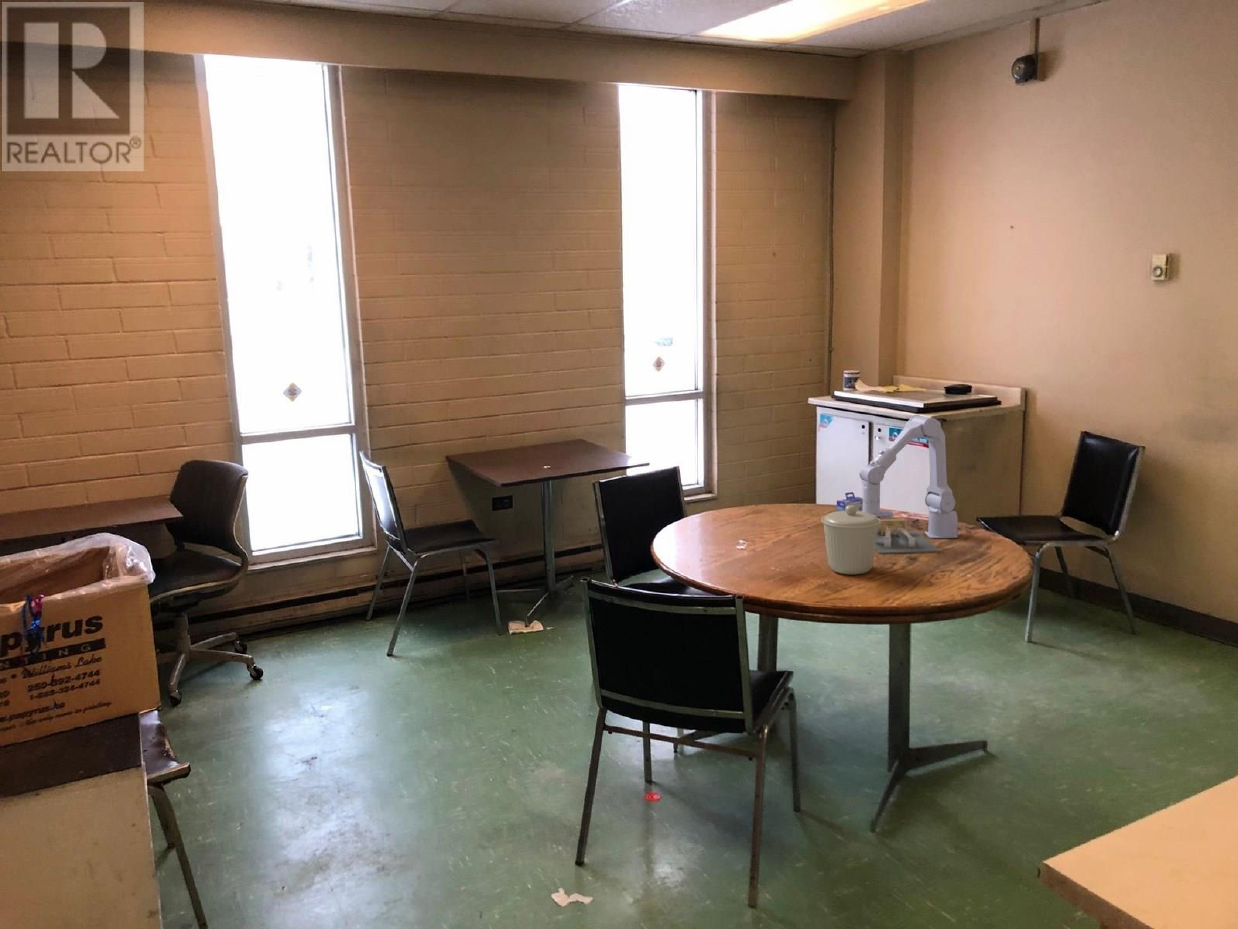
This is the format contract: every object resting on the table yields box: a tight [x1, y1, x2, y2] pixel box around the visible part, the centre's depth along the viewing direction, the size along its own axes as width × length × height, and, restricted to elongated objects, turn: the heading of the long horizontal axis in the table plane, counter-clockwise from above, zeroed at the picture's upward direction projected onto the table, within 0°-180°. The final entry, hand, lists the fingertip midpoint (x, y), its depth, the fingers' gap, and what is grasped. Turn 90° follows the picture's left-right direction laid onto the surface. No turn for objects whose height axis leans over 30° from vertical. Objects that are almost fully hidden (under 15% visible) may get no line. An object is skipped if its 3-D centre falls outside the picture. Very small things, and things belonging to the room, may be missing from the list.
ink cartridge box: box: [836, 491, 863, 512], centre depth 352 cm, size 10×6×14 cm, turn 115°
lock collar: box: [878, 518, 906, 535], centre depth 346 cm, size 8×3×5 cm, turn 89°
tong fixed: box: [897, 526, 915, 548], centre depth 336 cm, size 2×16×3 cm, turn 179°
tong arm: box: [884, 526, 892, 548], centre depth 336 cm, size 2×16×3 cm, turn 164°
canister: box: [821, 505, 881, 576], centre depth 306 cm, size 18×18×21 cm
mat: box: [875, 530, 941, 555], centre depth 337 cm, size 20×26×1 cm
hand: (870, 538), depth 336 cm, fingers closed
